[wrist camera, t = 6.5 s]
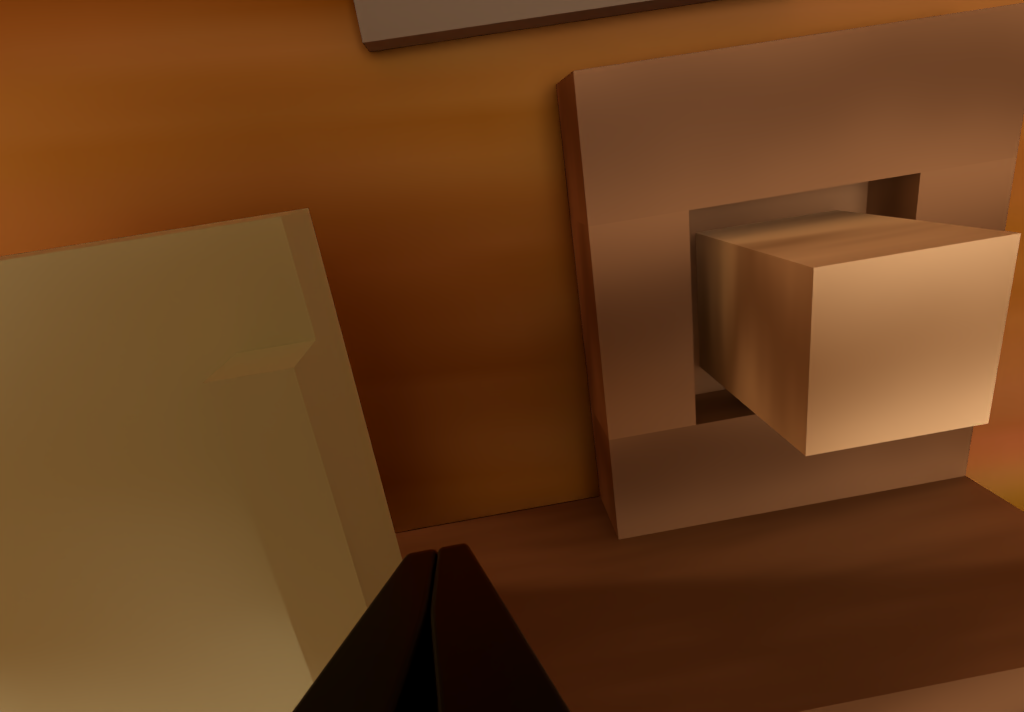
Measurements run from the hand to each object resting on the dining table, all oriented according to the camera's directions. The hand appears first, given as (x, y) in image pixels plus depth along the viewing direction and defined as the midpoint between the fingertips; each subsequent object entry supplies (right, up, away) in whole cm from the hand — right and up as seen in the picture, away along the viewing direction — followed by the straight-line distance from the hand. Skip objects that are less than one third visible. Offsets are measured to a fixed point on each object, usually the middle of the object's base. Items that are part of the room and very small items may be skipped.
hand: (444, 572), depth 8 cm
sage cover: (-5, -1, +3) cm, 6 cm away
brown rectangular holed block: (+3, +4, +11) cm, 12 cm away
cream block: (+9, +5, +10) cm, 15 cm away
